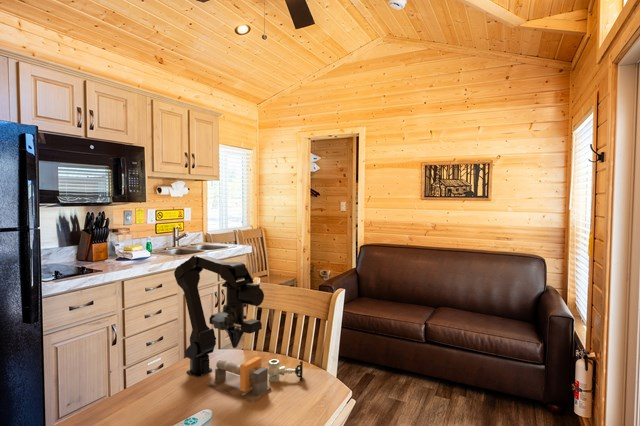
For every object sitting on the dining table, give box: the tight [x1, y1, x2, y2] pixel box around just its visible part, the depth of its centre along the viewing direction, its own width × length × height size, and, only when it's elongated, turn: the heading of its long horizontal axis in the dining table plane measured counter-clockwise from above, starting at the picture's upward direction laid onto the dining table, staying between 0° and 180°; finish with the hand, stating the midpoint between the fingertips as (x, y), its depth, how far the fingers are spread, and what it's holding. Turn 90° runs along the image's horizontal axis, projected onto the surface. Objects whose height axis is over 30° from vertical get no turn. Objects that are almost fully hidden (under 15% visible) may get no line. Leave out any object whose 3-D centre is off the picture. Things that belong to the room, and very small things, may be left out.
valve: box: [267, 358, 304, 383], centre depth 131 cm, size 7×7×12 cm
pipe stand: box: [206, 358, 272, 403], centre depth 125 cm, size 20×9×8 cm, turn 59°
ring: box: [239, 356, 262, 392], centre depth 123 cm, size 2×8×8 cm, turn 149°
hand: (234, 347), depth 126 cm, fingers closed
